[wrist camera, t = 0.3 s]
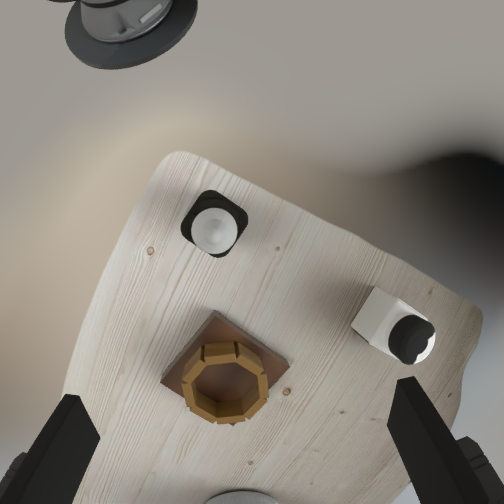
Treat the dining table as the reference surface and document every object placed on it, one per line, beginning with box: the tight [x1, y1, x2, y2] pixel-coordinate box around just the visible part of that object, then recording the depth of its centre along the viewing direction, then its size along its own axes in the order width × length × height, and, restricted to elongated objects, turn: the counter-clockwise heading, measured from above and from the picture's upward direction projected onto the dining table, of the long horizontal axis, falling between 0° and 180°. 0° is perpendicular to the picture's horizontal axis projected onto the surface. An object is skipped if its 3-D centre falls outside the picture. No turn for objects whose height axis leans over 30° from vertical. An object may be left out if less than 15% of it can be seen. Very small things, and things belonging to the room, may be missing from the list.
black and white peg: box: [181, 190, 248, 258], centre depth 29 cm, size 5×5×25 cm
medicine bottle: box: [350, 287, 435, 365], centre depth 40 cm, size 7×7×12 cm
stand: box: [160, 310, 290, 426], centre depth 41 cm, size 13×13×6 cm
